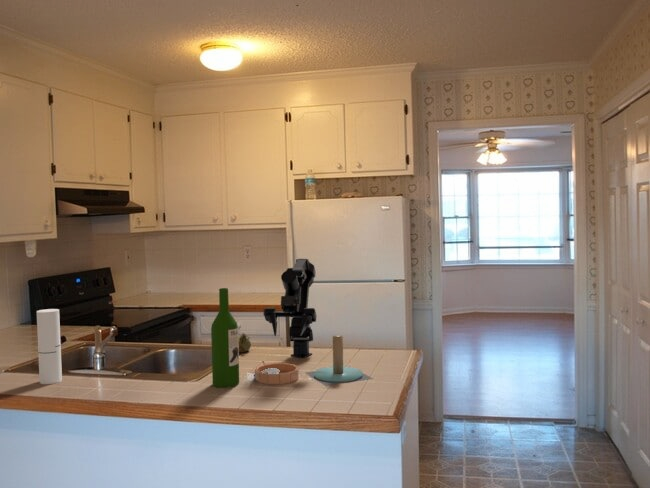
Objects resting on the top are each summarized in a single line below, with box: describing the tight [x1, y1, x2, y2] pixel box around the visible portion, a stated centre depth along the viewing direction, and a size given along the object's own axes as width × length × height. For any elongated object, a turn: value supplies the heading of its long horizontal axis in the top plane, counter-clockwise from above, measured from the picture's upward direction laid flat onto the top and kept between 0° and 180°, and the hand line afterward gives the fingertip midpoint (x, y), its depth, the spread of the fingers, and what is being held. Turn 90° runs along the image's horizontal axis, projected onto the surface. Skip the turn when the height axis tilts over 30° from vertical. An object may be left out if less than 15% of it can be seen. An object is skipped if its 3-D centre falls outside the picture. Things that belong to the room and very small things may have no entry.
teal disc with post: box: [314, 334, 364, 383], centre depth 206 cm, size 17×17×14 cm
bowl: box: [254, 362, 300, 385], centre depth 205 cm, size 15×15×4 cm
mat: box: [305, 366, 374, 387], centre depth 207 cm, size 18×18×1 cm
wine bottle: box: [210, 287, 240, 389], centre depth 199 cm, size 9×9×32 cm
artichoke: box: [238, 332, 252, 353], centre depth 247 cm, size 8×8×8 cm
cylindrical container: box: [36, 308, 63, 385], centre depth 206 cm, size 7×7×25 cm
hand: (287, 335), depth 209 cm, fingers open, 9 cm apart
